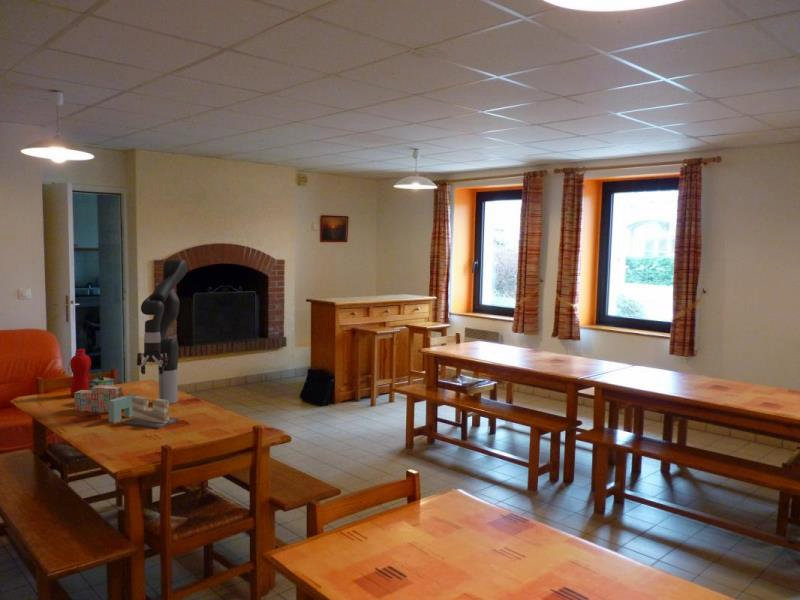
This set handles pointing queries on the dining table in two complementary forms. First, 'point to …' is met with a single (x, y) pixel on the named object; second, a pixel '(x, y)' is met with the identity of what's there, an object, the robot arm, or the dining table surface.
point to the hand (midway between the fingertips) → (152, 374)
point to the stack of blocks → (96, 398)
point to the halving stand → (150, 413)
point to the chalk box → (100, 381)
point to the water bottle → (80, 371)
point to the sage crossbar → (120, 407)
